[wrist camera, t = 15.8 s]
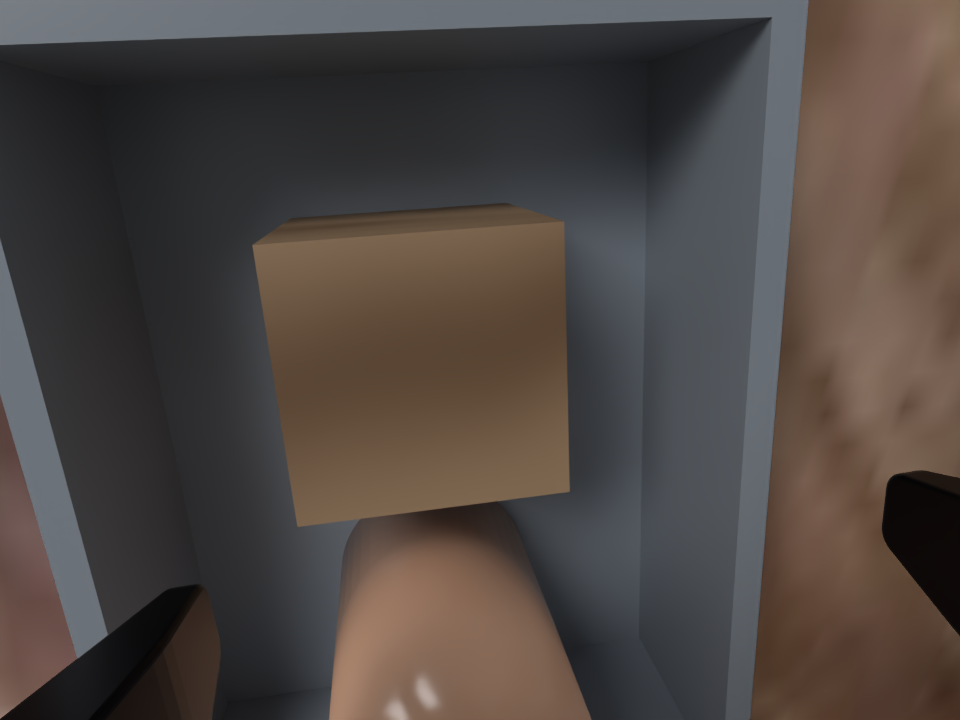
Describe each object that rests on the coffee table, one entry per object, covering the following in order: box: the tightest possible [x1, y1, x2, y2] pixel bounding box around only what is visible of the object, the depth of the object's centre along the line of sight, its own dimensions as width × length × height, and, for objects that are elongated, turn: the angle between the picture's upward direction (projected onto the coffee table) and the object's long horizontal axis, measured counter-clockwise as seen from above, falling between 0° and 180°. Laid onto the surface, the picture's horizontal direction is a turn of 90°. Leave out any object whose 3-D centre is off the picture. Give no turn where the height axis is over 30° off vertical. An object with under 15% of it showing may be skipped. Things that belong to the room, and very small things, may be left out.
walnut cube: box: [252, 203, 570, 527], centre depth 14 cm, size 5×5×5 cm
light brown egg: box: [329, 501, 592, 720], centre depth 15 cm, size 5×5×7 cm
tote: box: [0, 0, 808, 720], centre depth 15 cm, size 13×17×6 cm
